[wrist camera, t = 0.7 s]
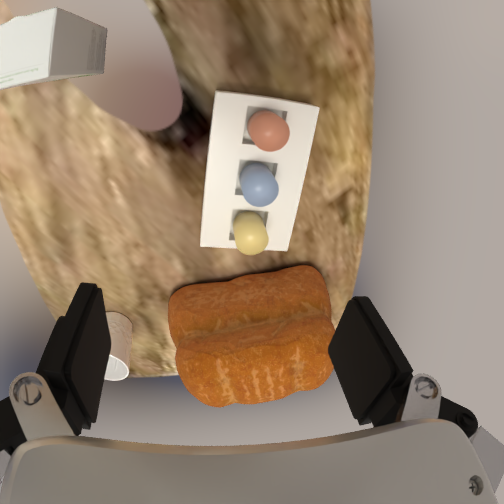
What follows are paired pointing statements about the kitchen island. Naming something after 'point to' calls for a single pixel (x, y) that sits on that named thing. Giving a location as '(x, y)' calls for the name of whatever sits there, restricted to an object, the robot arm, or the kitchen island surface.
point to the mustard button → (250, 233)
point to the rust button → (268, 130)
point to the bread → (253, 336)
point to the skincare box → (50, 48)
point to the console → (246, 152)
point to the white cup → (119, 346)
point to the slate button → (258, 185)
